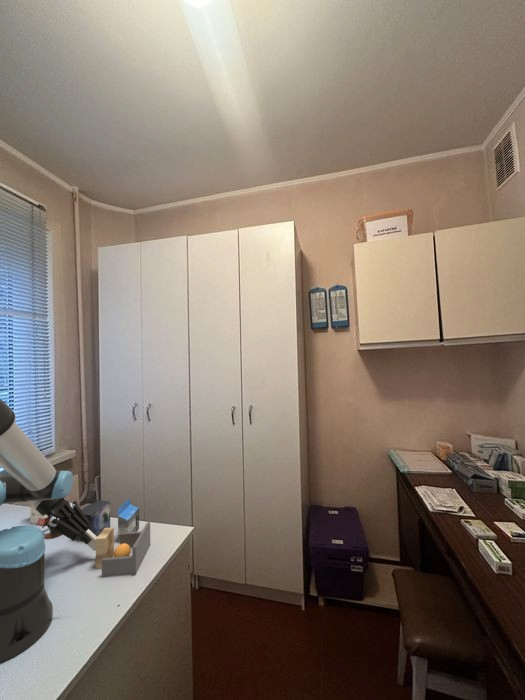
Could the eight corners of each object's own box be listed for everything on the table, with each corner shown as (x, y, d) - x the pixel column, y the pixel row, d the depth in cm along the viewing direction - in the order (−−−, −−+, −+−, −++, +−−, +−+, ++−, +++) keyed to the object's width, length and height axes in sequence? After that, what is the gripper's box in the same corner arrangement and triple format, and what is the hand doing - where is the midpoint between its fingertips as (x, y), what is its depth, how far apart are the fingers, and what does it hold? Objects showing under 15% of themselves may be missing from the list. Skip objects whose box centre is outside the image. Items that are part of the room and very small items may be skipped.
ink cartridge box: (56, 519, 120) (56, 484, 121) (43, 526, 116) (43, 489, 116) (42, 516, 123) (42, 482, 124) (29, 522, 119) (29, 486, 119)
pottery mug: (35, 545, 104) (36, 520, 108) (51, 542, 112) (51, 519, 116) (70, 532, 106) (69, 508, 110) (83, 530, 115) (82, 508, 118)
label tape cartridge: (127, 544, 102) (127, 509, 103) (117, 544, 102) (117, 509, 103) (139, 529, 111) (139, 497, 112) (129, 529, 111) (129, 497, 112)
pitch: (135, 577, 86) (135, 548, 86) (51, 584, 84) (51, 555, 85) (150, 545, 101) (150, 521, 101) (80, 551, 99) (80, 526, 99)
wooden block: (105, 567, 90) (105, 538, 90) (95, 568, 90) (95, 538, 90) (114, 554, 96) (113, 527, 96) (104, 555, 95) (104, 528, 96)
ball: (109, 553, 90) (113, 568, 90) (124, 547, 91) (129, 562, 91) (115, 543, 95) (120, 557, 95) (130, 537, 96) (134, 552, 96)
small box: (90, 544, 103) (90, 514, 103) (75, 542, 104) (75, 513, 104) (111, 527, 113) (111, 500, 114) (97, 526, 114) (97, 499, 115)
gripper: (50, 497, 99) (99, 543, 100) (22, 517, 86) (79, 569, 87) (66, 481, 100) (115, 526, 101) (41, 498, 87) (97, 550, 88)
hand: (98, 546), depth 94 cm, fingers closed
